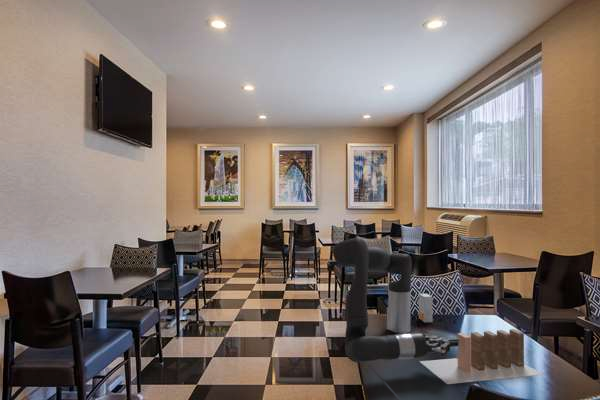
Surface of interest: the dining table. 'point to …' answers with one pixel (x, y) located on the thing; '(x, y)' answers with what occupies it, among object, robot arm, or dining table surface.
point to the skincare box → (425, 308)
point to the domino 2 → (491, 349)
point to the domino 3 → (504, 348)
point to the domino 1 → (477, 351)
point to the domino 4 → (517, 347)
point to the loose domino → (464, 352)
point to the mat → (474, 371)
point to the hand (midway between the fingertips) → (457, 341)
